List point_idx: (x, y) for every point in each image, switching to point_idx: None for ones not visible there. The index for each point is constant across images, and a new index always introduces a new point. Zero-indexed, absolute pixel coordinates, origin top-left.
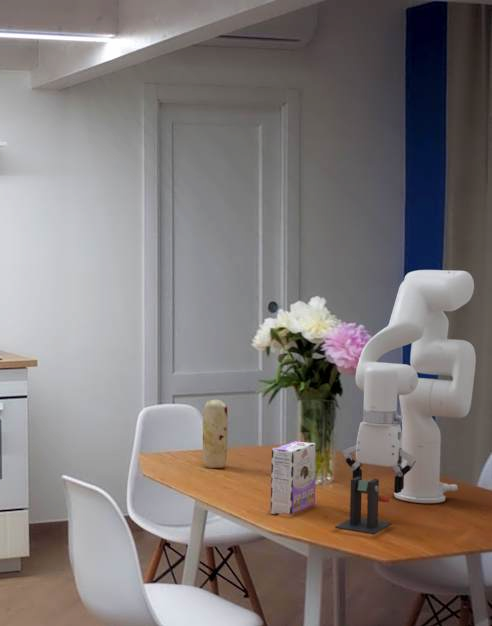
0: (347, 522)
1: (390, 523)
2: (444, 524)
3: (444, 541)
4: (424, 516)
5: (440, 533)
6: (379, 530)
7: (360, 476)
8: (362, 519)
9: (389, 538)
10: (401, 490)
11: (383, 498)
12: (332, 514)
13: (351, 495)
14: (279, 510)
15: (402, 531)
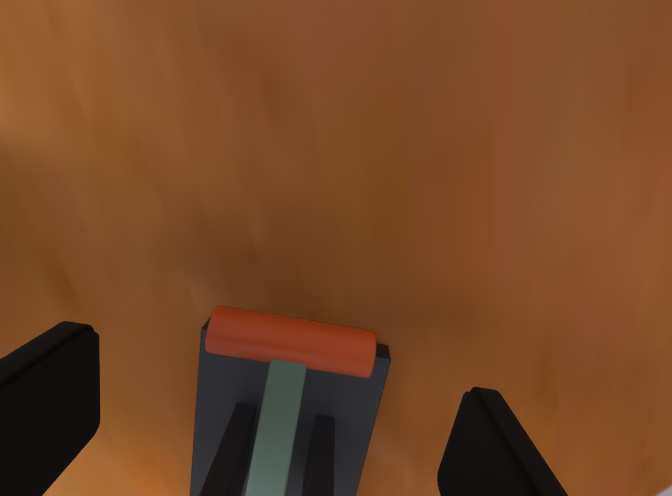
0: (208, 441)
1: (386, 375)
2: (646, 152)
3: (602, 450)
4: None
5: (601, 342)
6: (357, 488)
7: (12, 436)
8: (251, 364)
9: (398, 492)
10: (496, 394)
11: (337, 373)
12: (68, 223)
13: None
14: None
15: (437, 381)
